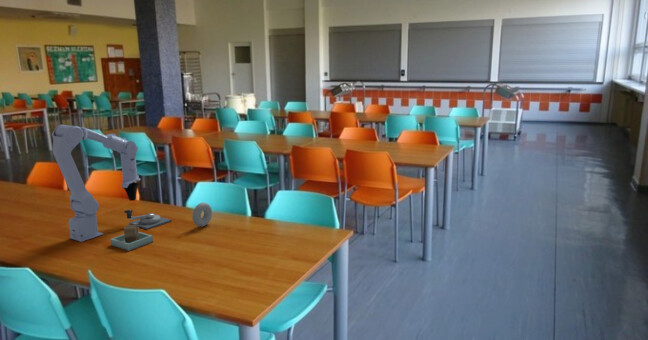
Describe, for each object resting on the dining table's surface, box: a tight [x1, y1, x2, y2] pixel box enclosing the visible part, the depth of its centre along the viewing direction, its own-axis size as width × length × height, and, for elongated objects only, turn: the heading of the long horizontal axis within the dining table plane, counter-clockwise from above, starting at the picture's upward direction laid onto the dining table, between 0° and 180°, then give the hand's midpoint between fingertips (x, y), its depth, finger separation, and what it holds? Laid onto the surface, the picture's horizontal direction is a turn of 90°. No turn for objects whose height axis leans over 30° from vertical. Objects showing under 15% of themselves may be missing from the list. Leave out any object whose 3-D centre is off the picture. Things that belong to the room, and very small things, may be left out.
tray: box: [109, 231, 154, 252], centre depth 181 cm, size 11×11×2 cm
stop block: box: [123, 224, 140, 243], centre depth 180 cm, size 4×4×6 cm
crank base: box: [128, 214, 172, 230], centre depth 204 cm, size 12×12×2 cm
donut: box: [192, 202, 213, 227], centre depth 198 cm, size 10×4×10 cm, turn 151°
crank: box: [123, 209, 155, 221], centre depth 201 cm, size 11×3×4 cm, turn 118°
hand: (132, 200), depth 204 cm, fingers closed
